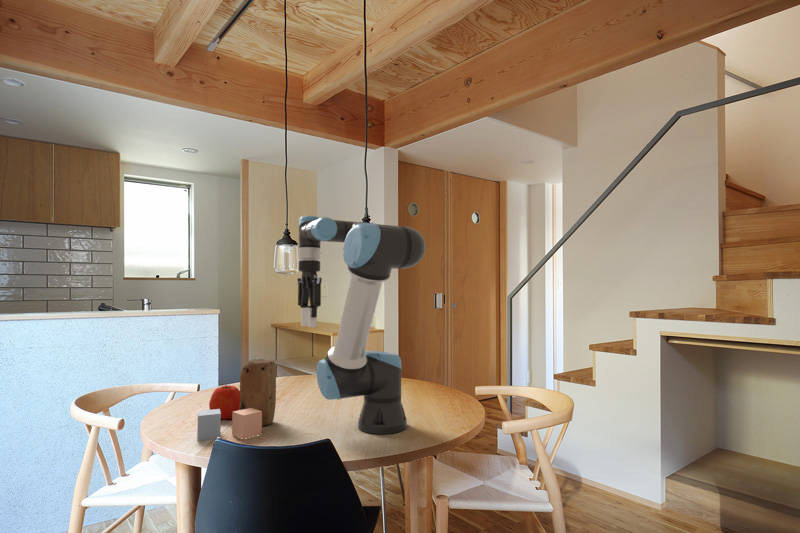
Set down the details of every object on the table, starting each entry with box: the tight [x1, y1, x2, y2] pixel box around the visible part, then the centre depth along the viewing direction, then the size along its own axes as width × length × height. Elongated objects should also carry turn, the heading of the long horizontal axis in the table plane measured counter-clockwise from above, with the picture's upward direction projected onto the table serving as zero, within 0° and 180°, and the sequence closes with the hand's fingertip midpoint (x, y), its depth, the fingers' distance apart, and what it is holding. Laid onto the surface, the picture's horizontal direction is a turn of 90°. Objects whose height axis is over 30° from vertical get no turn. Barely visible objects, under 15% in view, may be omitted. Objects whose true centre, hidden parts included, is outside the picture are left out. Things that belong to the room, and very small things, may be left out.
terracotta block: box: [231, 408, 263, 439], centre depth 137 cm, size 6×6×7 cm
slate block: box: [196, 409, 222, 442], centre depth 136 cm, size 6×6×7 cm
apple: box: [208, 385, 240, 420], centre depth 157 cm, size 11×11×11 cm
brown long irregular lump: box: [239, 358, 277, 427], centre depth 149 cm, size 11×8×20 cm
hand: (308, 326), depth 164 cm, fingers open, 5 cm apart
